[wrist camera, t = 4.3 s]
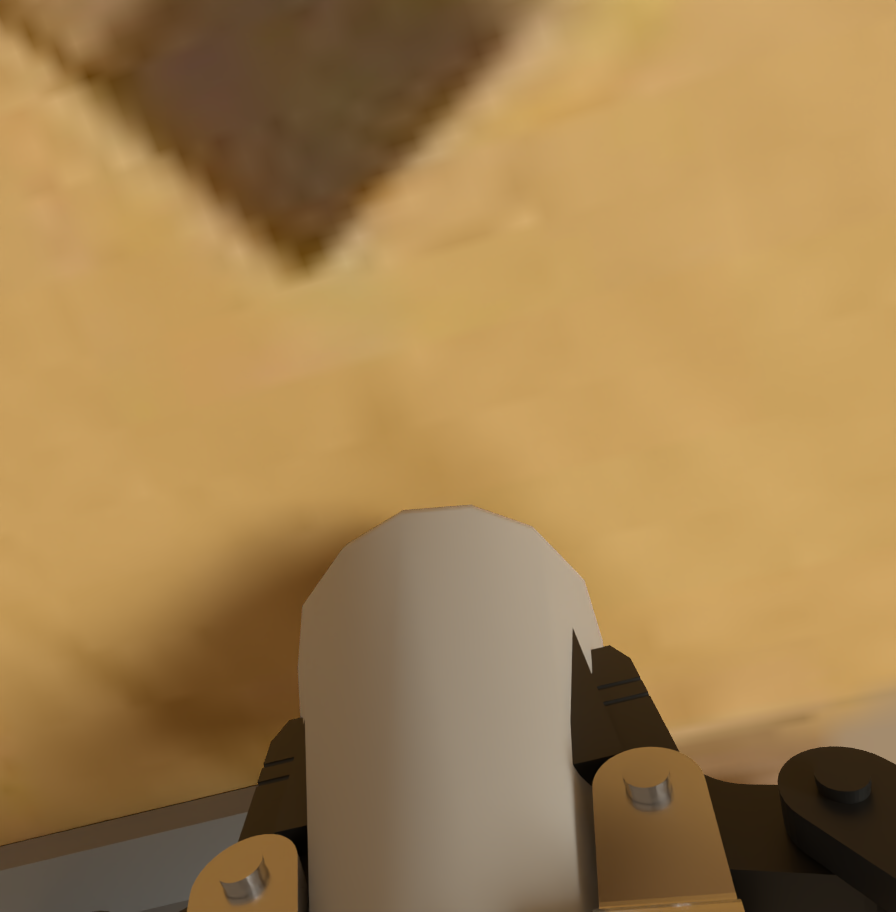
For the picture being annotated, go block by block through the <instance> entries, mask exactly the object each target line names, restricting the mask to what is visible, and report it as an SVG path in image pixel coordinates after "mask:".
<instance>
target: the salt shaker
mask: <svg viewBox="0 0 896 912" xmlns="http://www.w3.org/2000/svg"><path fill="white" fill-rule="evenodd" d="M573 629H574V632H575V634H576V637H577V639H578V642H579V644H580V646H581V649H582V651H583V654H584V656H585V659H586V661H587V664H588V666H589V668H590V671H591V673H592V659H591V650H592V649H596V648H600V647H603V640H602V637H601V634H600V630H599V627H598V624H597V620H596V617H595V614H594V610H593V607H592V604H591V600H590V597H589V594H588V590H587V587H586V584H585V581H584V579H583V578H582V577H581V576H580V575H579V574H578V573H577V572H576V571H575V570H574V569H573V568H572V567H571V566H570V565H569V564H568V563H567V562H566V561H565V560H564V559H563V558H562V557H561V555H560V554H559V553H558V552H557V551H556V550H555V549H554V548H553V547H552V546H551V545H550V544H549V543H548V542H547V541H546V540H545V539H544V538H543V537H542V536H541V535H540V534H539V533H538V532H537V531H536V530H535V529H534V528H533V527H532V526H530V525H527V524H524V523H521V522H519V521H516V520H513V519H510V518H507V517H504V516H501V515H498V514H496V513H493V512H490V511H487V510H484V509H481V508H478V507H475V506H473V505H462V506H450V507H437V508H425V509H412V510H403V511H401V512H399V513H398V514H396V515H394V516H393V517H391V518H389V519H388V520H386V521H384V522H383V523H381V524H379V525H378V526H376V527H374V528H373V529H371V530H369V531H368V532H366V533H364V534H363V535H361V536H359V537H358V538H356V539H354V540H353V541H351V542H349V543H348V544H347V545H346V546H345V547H344V548H343V549H342V550H341V551H340V553H339V554H338V556H337V557H336V558H335V560H334V561H333V563H332V564H331V566H330V567H329V568H328V570H327V571H326V573H325V574H324V576H323V577H322V578H321V580H320V581H319V583H318V584H317V586H316V587H315V588H314V590H313V591H312V593H311V594H310V596H309V597H308V598H307V600H306V601H305V603H304V604H303V606H302V617H301V631H300V644H299V658H298V683H299V701H300V718H301V717H303V724H304V720H305V742H306V786H307V829H308V873H309V912H592V910H593V909H599V898H598V880H597V863H596V845H595V828H594V810H593V793H592V786H590V785H589V784H588V783H587V782H586V781H585V780H584V779H583V778H582V777H581V776H580V775H579V774H578V772H577V770H576V769H575V767H574V766H573V761H572V743H571V725H570V714H571V674H572V633H573Z"/></svg>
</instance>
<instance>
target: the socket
mask: <svg viewBox="0 0 896 912" xmlns="http://www.w3.org/2000/svg"><path fill="white" fill-rule="evenodd" d="M256 787H258V785H257V786H252V787H248V788H244V789H240V790H236V791H231V792H227V793H223V794H219V795H215V796H210V797H206V798H202V799H198V800H194V801H189V802H185V803H181V804H177V805H173V806H169V807H164V808H160V809H156V810H152V811H148V812H143V813H139V814H135V815H131V816H127V817H122V818H118V819H114V820H110V821H106V822H102V823H97V824H93V825H89V826H85V827H81V828H76V829H72V830H68V831H64V832H60V833H55V834H51V835H47V836H43V837H39V838H35V839H30V840H26V841H22V842H18V843H14V844H9V845H5V846H1V847H0V912H94V911H109V912H179V911H181V910H183V909H185V908H186V907H188V902H189V896H190V892H191V889H192V886H193V884H194V882H195V880H196V878H197V877H198V875H199V874H200V872H201V871H202V870H203V869H204V868H205V866H206V865H207V864H208V863H209V862H210V861H211V860H212V859H213V858H215V857H216V856H217V855H218V854H220V853H221V852H222V851H224V850H225V849H227V848H228V847H230V846H232V845H234V844H236V843H237V842H238V840H239V837H240V834H241V831H242V828H243V825H244V822H245V819H246V816H247V813H248V810H249V807H250V804H251V801H252V798H253V795H254V792H255V789H256Z"/></svg>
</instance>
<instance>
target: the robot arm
mask: <svg viewBox="0 0 896 912" xmlns="http://www.w3.org/2000/svg"><path fill="white" fill-rule="evenodd" d="M591 659H592V673H591V671H590V668H589V666H588V664H587V661H586V659H585V656H584V654H583V651H582V649H581V646H580V644H579V642H578V639H577V637H576V634H575V632H574V629H573V633H572V674H571V714H570V725H571V743H572V761H573V766H574V767H575V769H576V770H577V772H578V774H579V775H580V776H581V777H582V778H583V779H584V780H585V781H586V782H587V783H588V784H589V785H590V786H592V793H593V810H594V828H595V845H596V863H597V880H598V898H599V909H593V910H592V912H896V765H895V764H894V763H892V762H890V761H888V760H886V759H884V758H882V757H880V756H877V755H875V754H873V753H869V752H867V751H863V750H859V749H854V748H848V747H820V748H815V749H810V750H807V751H804V752H801V753H799V754H797V755H796V756H794V757H792V758H791V759H790V760H788V761H787V762H786V763H785V764H784V766H783V767H782V768H781V771H780V773H779V776H778V785H748V784H735V783H729V782H724V781H720V780H717V779H714V778H711V777H709V776H706V775H704V774H703V772H702V770H701V768H700V767H699V765H698V764H697V763H696V762H695V761H693V760H692V759H691V758H689V757H688V756H686V755H685V754H682V753H680V752H679V750H678V748H677V746H676V745H675V743H674V741H673V739H672V737H671V735H670V733H669V731H668V729H667V727H666V725H665V724H664V722H663V720H662V718H661V716H660V714H659V712H658V710H657V708H656V706H655V705H654V703H653V701H652V699H651V697H650V696H649V694H648V691H647V689H646V687H645V685H644V684H643V682H642V680H641V679H640V676H639V674H638V672H637V670H636V668H635V666H634V664H633V663H632V661H631V659H630V658H629V657H627V656H626V655H624V654H623V653H621V652H619V651H618V650H616V649H615V648H613V647H611V646H610V645H609V646H605V647H600V648H596V649H592V650H591ZM94 912H109V911H94ZM179 912H309V873H308V829H307V786H306V742H305V720H304V724H303V717H301V718H297V719H293V720H289V721H288V723H287V724H286V725H285V726H284V727H283V728H282V730H281V731H280V732H279V733H278V734H277V736H276V737H275V738H274V739H273V740H272V742H271V744H270V747H269V750H268V753H267V756H266V759H265V762H264V768H262V771H261V774H260V777H259V780H258V787H256V789H255V792H254V795H253V798H252V801H251V804H250V807H249V810H248V813H247V816H246V819H245V822H244V825H243V828H242V831H241V834H240V837H239V840H238V842H237V843H236V844H234V845H232V846H230V847H228V848H227V849H225V850H224V851H222V852H221V853H220V854H218V855H217V856H216V857H215V858H213V859H212V860H211V861H210V862H209V863H208V864H207V865H206V866H205V868H204V869H203V870H202V871H201V872H200V874H199V875H198V877H197V878H196V880H195V882H194V884H193V886H192V889H191V892H190V896H189V902H188V907H186V908H185V909H183V910H181V911H179Z"/></svg>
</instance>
